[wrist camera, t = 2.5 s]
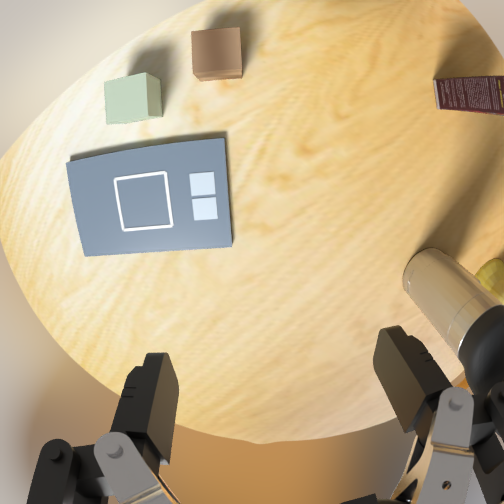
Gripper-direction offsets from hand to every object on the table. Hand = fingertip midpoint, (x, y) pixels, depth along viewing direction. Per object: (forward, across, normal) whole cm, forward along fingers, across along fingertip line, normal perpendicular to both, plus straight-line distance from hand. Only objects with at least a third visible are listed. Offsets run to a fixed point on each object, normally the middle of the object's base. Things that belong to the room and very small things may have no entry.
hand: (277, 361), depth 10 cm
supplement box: (+28, -32, -14) cm, 45 cm away
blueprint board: (+29, +13, 0) cm, 32 cm away
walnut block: (+29, +2, -17) cm, 34 cm away
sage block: (+29, +12, -13) cm, 34 cm away
